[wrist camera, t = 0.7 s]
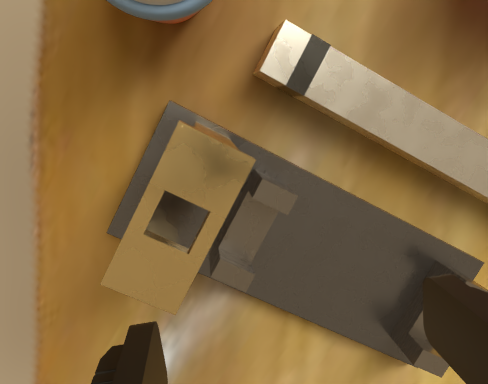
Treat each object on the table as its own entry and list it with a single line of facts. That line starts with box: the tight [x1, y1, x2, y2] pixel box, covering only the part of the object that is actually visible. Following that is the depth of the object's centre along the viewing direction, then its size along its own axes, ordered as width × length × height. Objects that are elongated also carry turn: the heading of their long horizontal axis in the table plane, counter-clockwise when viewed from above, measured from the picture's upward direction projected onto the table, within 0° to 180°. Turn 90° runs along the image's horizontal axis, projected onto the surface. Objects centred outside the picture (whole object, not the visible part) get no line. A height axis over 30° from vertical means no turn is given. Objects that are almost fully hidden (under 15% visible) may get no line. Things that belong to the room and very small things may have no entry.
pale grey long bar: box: [253, 20, 488, 204], centre depth 35 cm, size 4×30×4 cm, turn 63°
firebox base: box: [100, 101, 488, 378], centre depth 32 cm, size 12×32×11 cm, turn 63°
